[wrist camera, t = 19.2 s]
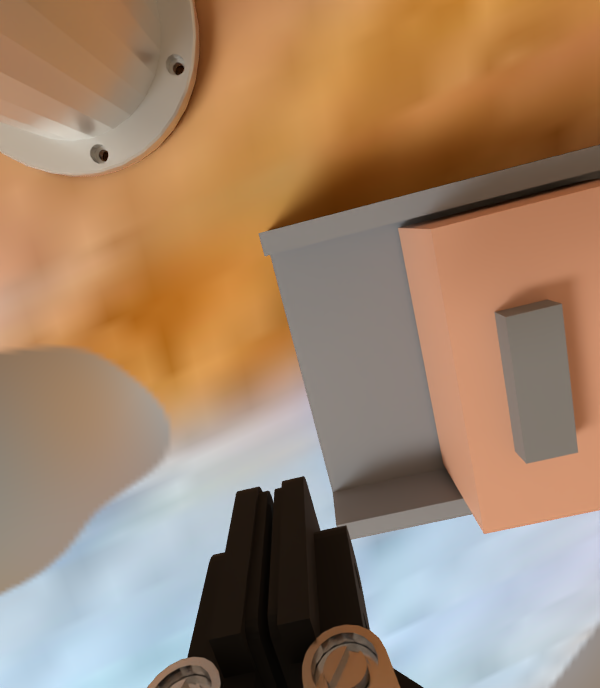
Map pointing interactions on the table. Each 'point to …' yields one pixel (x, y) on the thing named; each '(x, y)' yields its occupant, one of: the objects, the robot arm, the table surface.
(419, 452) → the grey shallow rimmed piece
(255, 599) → the robot arm
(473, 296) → the slider
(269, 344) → the table surface
